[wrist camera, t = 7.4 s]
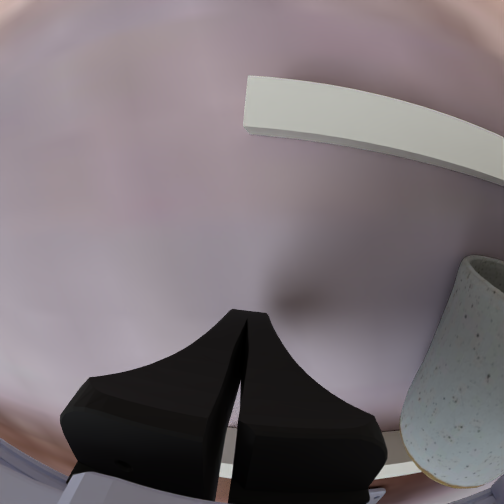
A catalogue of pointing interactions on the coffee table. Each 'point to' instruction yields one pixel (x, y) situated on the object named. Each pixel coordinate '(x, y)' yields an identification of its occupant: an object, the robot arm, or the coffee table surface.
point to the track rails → (372, 139)
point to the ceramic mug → (462, 384)
